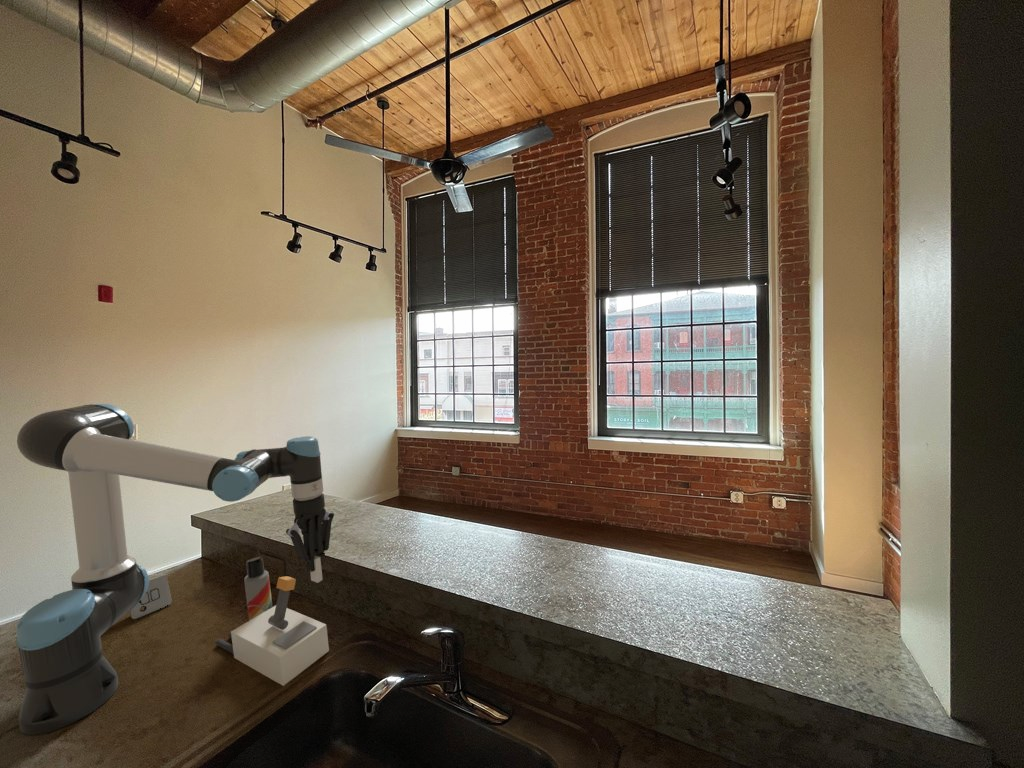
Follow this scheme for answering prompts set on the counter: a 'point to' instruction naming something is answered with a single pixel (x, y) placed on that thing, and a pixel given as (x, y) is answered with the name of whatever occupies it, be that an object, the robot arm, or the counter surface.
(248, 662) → the block
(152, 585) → the electrical switch
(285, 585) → the lever
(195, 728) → the counter surface
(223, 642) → the parallel rod pair
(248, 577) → the lotion bottle
